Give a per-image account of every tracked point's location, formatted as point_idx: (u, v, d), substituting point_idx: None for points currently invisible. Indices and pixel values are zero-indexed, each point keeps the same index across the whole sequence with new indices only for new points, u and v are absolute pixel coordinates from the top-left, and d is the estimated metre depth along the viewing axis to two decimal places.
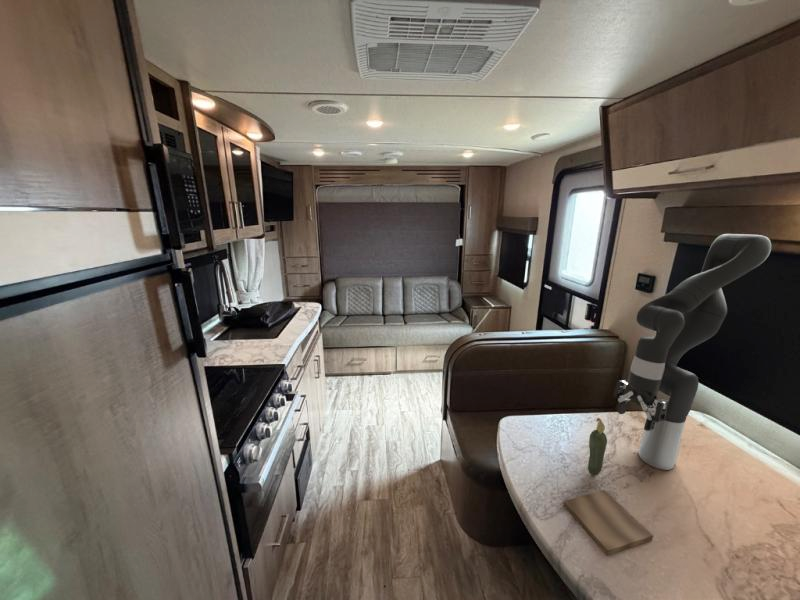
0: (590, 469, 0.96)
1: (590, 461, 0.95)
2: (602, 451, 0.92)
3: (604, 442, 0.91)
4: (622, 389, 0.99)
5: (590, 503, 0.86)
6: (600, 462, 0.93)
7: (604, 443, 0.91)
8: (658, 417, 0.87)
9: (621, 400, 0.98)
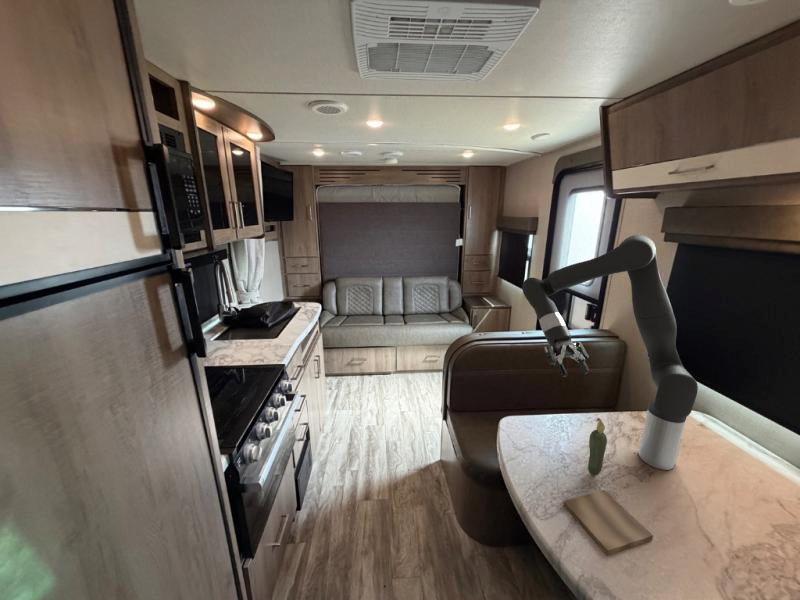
0: (590, 469, 0.96)
1: (590, 461, 0.95)
2: (602, 451, 0.92)
3: (604, 442, 0.91)
4: (579, 350, 1.05)
5: (590, 503, 0.86)
6: (600, 462, 0.93)
7: (604, 443, 0.91)
8: None
9: None
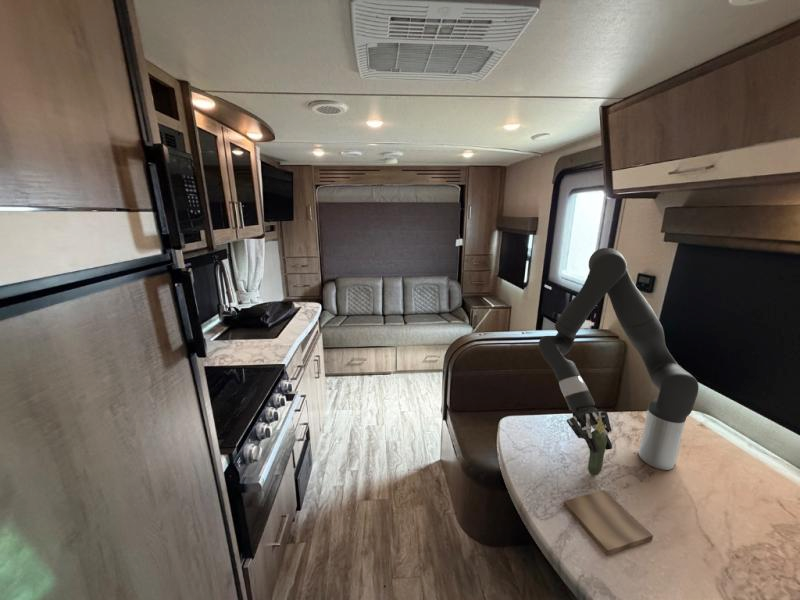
0: (590, 469, 0.95)
1: (590, 461, 0.95)
2: (602, 452, 0.92)
3: (604, 442, 0.91)
4: (603, 421, 0.97)
5: (590, 503, 0.86)
6: (600, 462, 0.93)
7: (604, 443, 0.91)
8: None
9: None
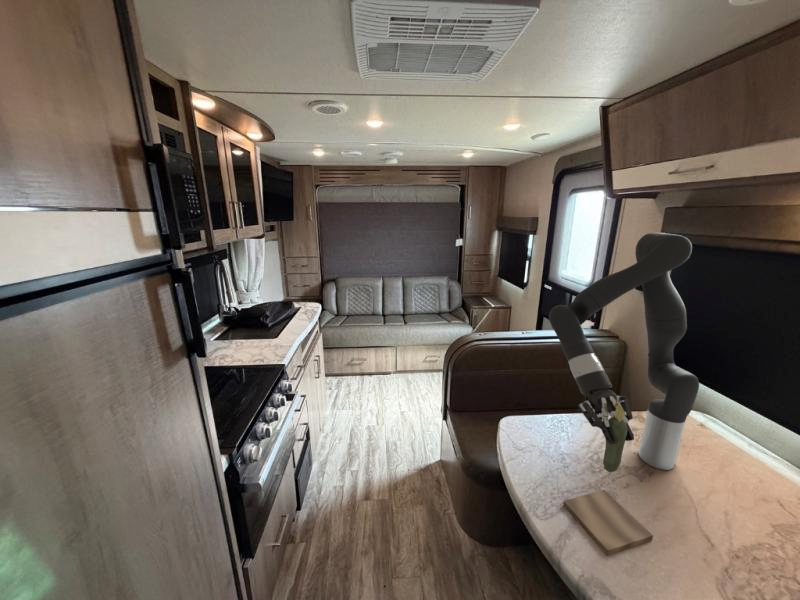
0: (606, 464, 0.79)
1: (606, 455, 0.78)
2: (621, 443, 0.76)
3: (624, 431, 0.75)
4: (622, 406, 0.80)
5: (590, 503, 0.86)
6: (619, 456, 0.77)
7: (624, 433, 0.75)
8: None
9: None
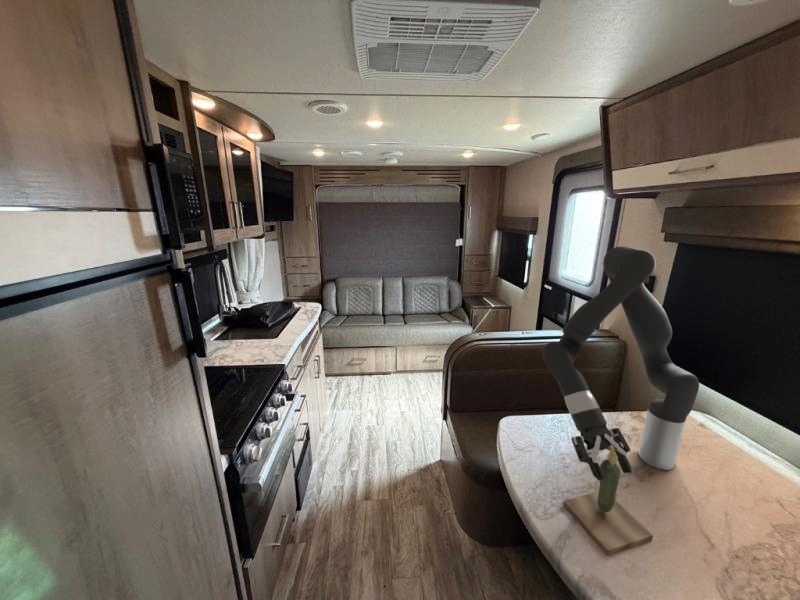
0: (600, 505, 0.82)
1: (600, 496, 0.81)
2: (615, 486, 0.78)
3: (617, 475, 0.78)
4: (618, 439, 0.83)
5: (590, 503, 0.86)
6: (612, 498, 0.79)
7: (617, 476, 0.78)
8: None
9: None
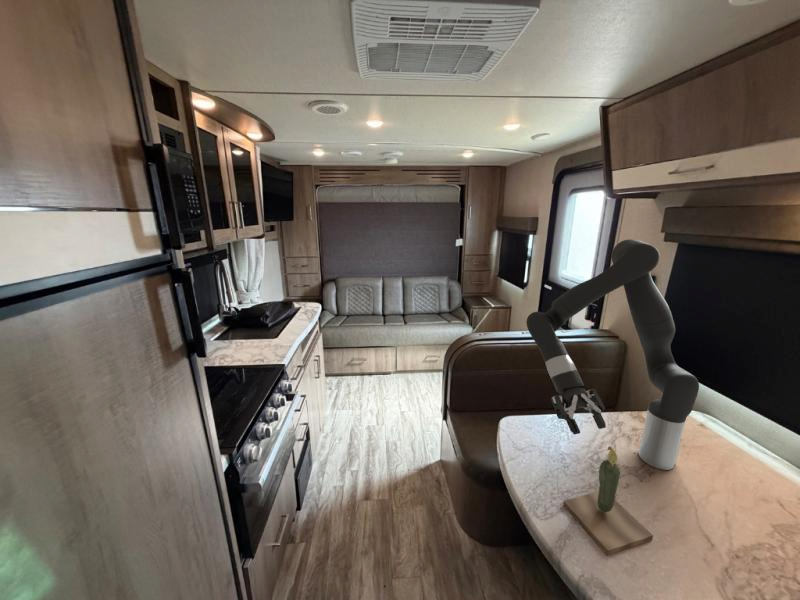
0: (600, 505, 0.82)
1: (600, 496, 0.81)
2: (614, 486, 0.78)
3: (617, 475, 0.78)
4: (594, 399, 0.90)
5: (590, 503, 0.86)
6: (612, 498, 0.79)
7: (617, 476, 0.78)
8: None
9: None
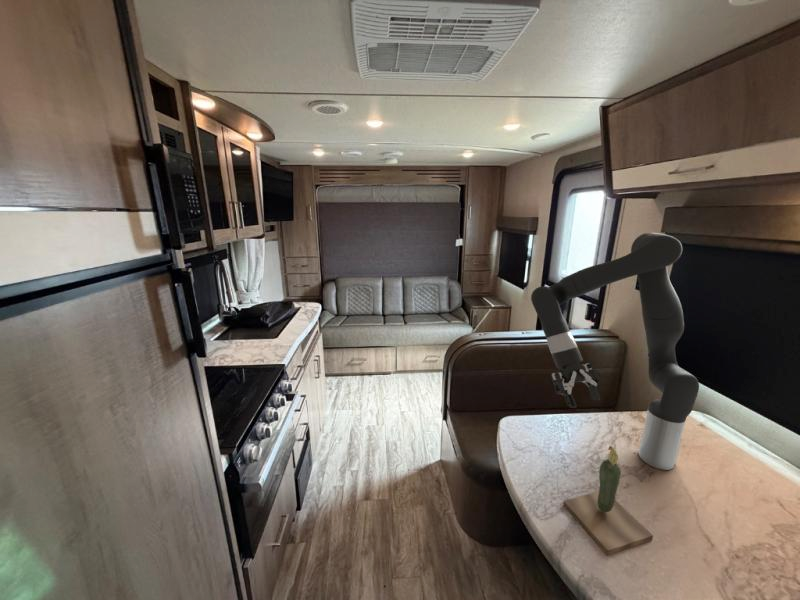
0: (600, 505, 0.82)
1: (600, 496, 0.81)
2: (615, 486, 0.78)
3: (617, 475, 0.78)
4: (591, 373, 0.93)
5: (590, 503, 0.86)
6: (612, 498, 0.79)
7: (617, 476, 0.78)
8: None
9: None
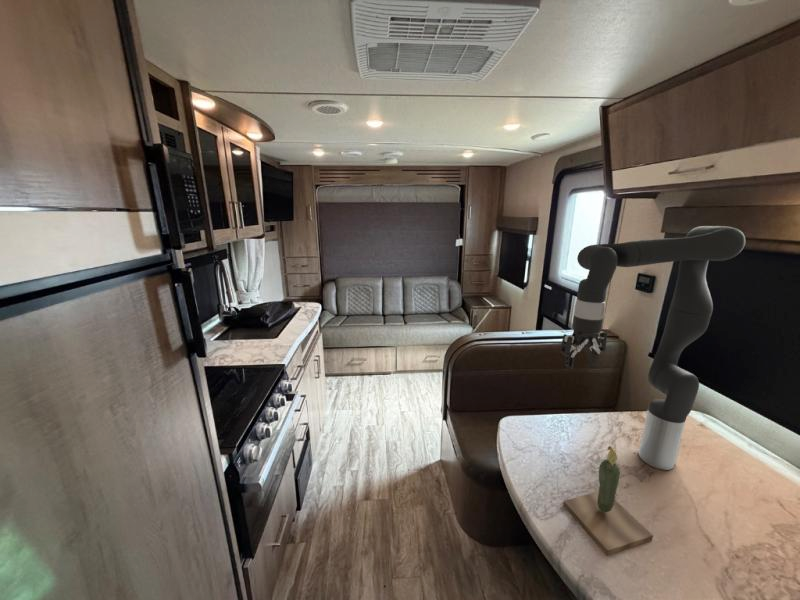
0: (600, 505, 0.82)
1: (600, 496, 0.81)
2: (614, 486, 0.78)
3: (617, 475, 0.78)
4: (600, 340, 0.95)
5: (590, 503, 0.86)
6: (612, 498, 0.79)
7: (617, 476, 0.78)
8: None
9: None
